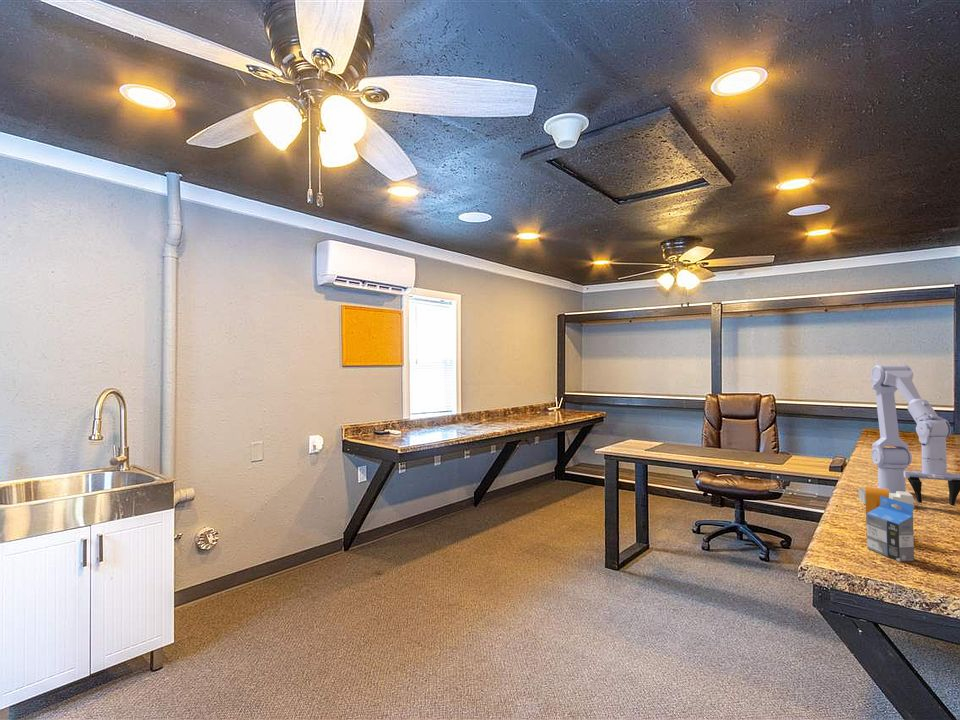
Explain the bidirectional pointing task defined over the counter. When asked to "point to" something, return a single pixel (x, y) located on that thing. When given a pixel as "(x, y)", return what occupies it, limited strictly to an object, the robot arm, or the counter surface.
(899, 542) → the ink cartridge box
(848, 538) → the counter surface
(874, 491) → the bracket
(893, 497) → the chute piece
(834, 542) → the counter surface
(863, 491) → the chute mount
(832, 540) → the counter surface
